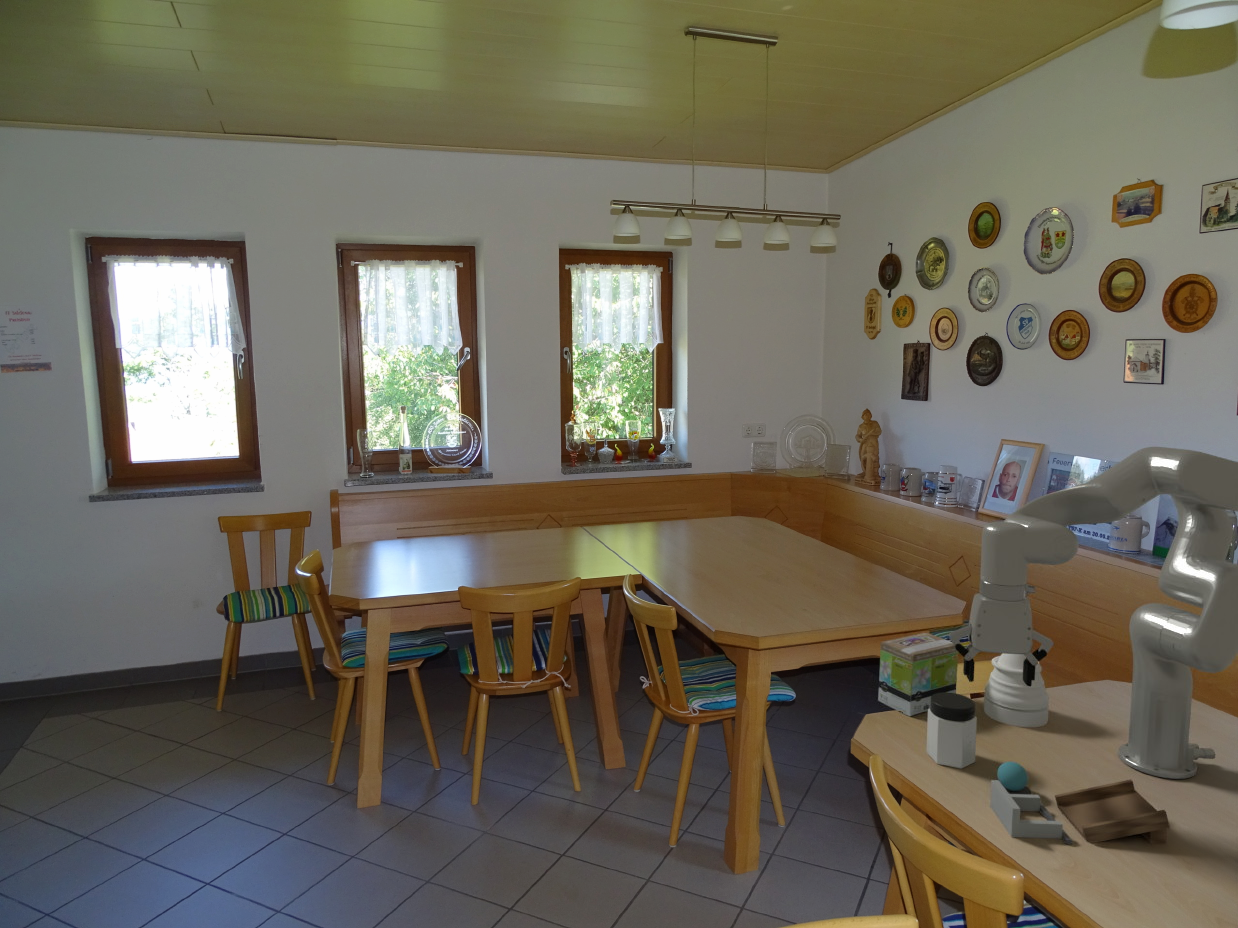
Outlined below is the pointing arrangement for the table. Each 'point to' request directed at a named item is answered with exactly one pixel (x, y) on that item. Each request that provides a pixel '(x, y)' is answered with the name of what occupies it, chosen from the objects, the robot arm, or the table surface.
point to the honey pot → (1015, 693)
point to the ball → (1012, 776)
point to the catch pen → (1009, 814)
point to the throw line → (1050, 818)
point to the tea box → (916, 671)
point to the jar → (951, 730)
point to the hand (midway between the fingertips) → (998, 681)
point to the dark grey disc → (1020, 791)
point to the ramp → (1113, 813)
